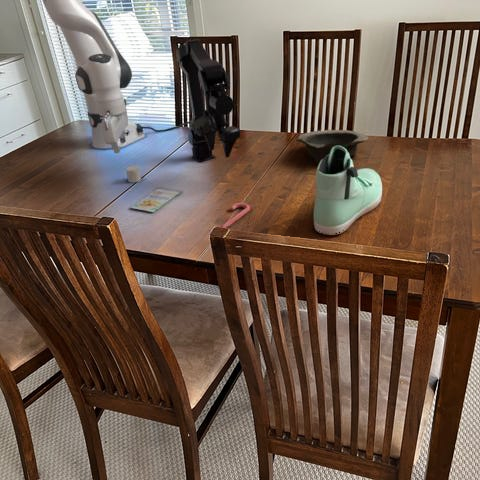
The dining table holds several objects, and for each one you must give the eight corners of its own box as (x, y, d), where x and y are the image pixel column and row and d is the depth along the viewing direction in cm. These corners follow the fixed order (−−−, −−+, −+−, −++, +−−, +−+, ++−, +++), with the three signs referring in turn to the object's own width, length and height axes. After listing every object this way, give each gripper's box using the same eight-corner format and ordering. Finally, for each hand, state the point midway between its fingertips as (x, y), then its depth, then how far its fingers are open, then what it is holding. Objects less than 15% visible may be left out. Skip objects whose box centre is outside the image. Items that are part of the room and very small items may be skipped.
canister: (135, 183, 165) (132, 171, 163) (125, 181, 167) (123, 169, 165) (143, 178, 168) (141, 166, 166) (134, 176, 170) (132, 164, 168)
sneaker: (389, 187, 148) (396, 123, 138) (356, 242, 123) (361, 168, 112) (346, 181, 154) (350, 119, 144) (306, 232, 129) (307, 161, 118)
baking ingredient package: (130, 206, 148) (157, 187, 159) (130, 208, 148) (157, 189, 160) (153, 211, 144) (180, 191, 156) (153, 212, 145) (180, 192, 156)
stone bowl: (325, 174, 159) (324, 147, 155) (285, 157, 179) (283, 133, 175) (382, 156, 168) (383, 130, 164) (338, 142, 188) (338, 118, 184)
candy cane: (207, 226, 136) (206, 221, 135) (237, 204, 146) (237, 200, 145) (224, 231, 132) (223, 227, 132) (254, 208, 143) (253, 204, 142)
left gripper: (113, 116, 148) (123, 158, 155) (127, 97, 165) (135, 136, 173) (93, 117, 148) (104, 159, 156) (109, 99, 166) (117, 137, 173)
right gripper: (178, 106, 153) (184, 152, 161) (209, 118, 140) (214, 168, 148) (207, 99, 159) (212, 144, 167) (240, 110, 145) (243, 158, 153)
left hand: (120, 147), depth 164 cm, fingers open, 8 cm apart
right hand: (219, 153), depth 159 cm, fingers open, 9 cm apart
